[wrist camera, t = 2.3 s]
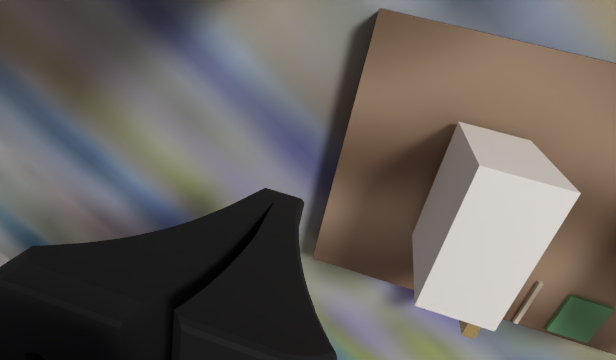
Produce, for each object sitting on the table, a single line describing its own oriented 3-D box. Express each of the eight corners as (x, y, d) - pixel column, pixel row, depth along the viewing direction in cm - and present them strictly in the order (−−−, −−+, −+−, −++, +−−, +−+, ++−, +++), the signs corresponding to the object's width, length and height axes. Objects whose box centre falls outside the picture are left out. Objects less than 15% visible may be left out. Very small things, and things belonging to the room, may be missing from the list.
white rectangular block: (452, 292, 19) (466, 375, 15) (396, 274, 20) (393, 350, 15) (530, 140, 16) (580, 193, 11) (458, 121, 16) (479, 165, 11)
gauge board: (636, 343, 20) (718, 462, 15) (318, 243, 22) (291, 316, 17) (839, 115, 14) (1095, 179, 9) (381, 8, 16) (370, 9, 11)
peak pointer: (466, 302, 20) (474, 339, 17) (455, 299, 20) (461, 334, 17) (482, 273, 19) (492, 308, 16) (470, 270, 19) (479, 304, 17)
